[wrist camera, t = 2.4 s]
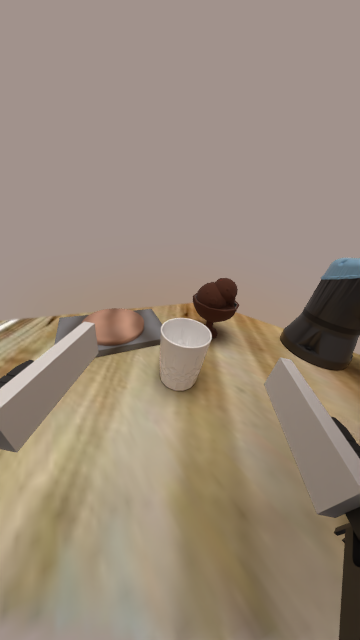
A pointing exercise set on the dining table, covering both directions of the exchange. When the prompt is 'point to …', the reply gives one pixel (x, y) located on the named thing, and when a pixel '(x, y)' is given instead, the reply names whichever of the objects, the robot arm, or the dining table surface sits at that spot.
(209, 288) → the ice cream bowl
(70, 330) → the serving stand
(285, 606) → the dining table surface
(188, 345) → the white cup
